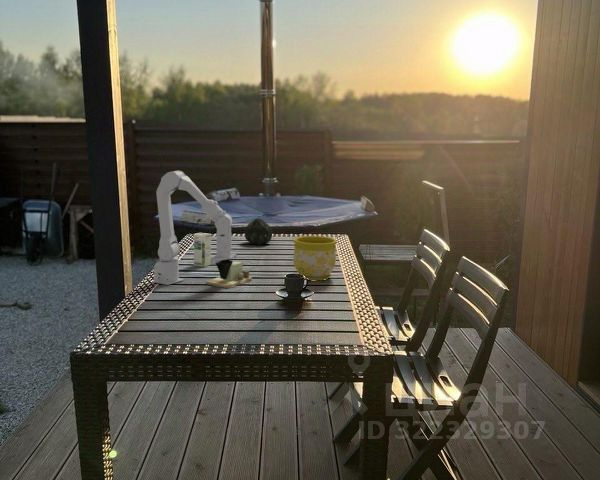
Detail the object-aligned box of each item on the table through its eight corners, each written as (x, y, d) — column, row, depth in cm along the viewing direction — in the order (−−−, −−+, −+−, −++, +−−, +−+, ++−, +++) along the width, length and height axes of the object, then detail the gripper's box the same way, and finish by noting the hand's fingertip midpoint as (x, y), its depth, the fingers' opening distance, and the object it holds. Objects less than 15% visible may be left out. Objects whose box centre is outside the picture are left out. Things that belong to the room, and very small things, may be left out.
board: (228, 288, 227) (228, 279, 227) (205, 284, 233) (205, 275, 232) (251, 280, 241) (252, 271, 240) (230, 276, 246) (230, 267, 246)
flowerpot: (327, 285, 236) (329, 245, 234) (286, 280, 242) (287, 241, 240) (340, 275, 253) (342, 238, 250) (301, 271, 259) (302, 234, 256)
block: (230, 280, 234) (230, 266, 233) (223, 279, 236) (223, 264, 235) (242, 276, 241) (242, 262, 240) (235, 275, 243) (235, 261, 242)
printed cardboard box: (193, 265, 264) (193, 233, 261) (201, 263, 269) (201, 232, 266) (203, 267, 261) (203, 235, 259) (211, 264, 266) (211, 233, 264)
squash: (264, 230, 331) (250, 211, 322) (281, 235, 321) (268, 216, 312) (248, 248, 326) (234, 230, 317) (265, 254, 315) (251, 235, 306)
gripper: (220, 249, 223) (220, 283, 225) (243, 243, 235) (242, 276, 237) (205, 246, 226) (205, 281, 229) (229, 241, 238) (228, 274, 241)
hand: (223, 278), depth 233 cm, fingers closed
